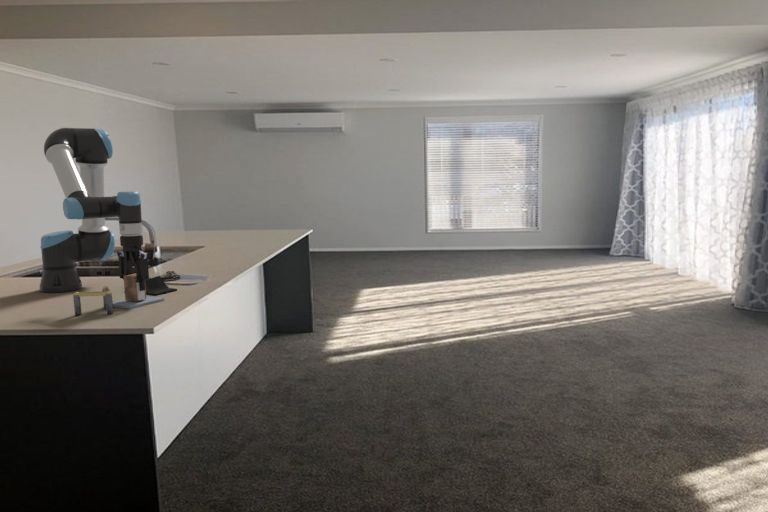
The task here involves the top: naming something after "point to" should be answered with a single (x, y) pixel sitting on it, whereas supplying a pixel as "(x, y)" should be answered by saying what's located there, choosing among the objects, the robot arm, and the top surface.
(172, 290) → the handheld gaming console
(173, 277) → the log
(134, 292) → the walnut block
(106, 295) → the grey and gold frame
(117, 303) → the pad
